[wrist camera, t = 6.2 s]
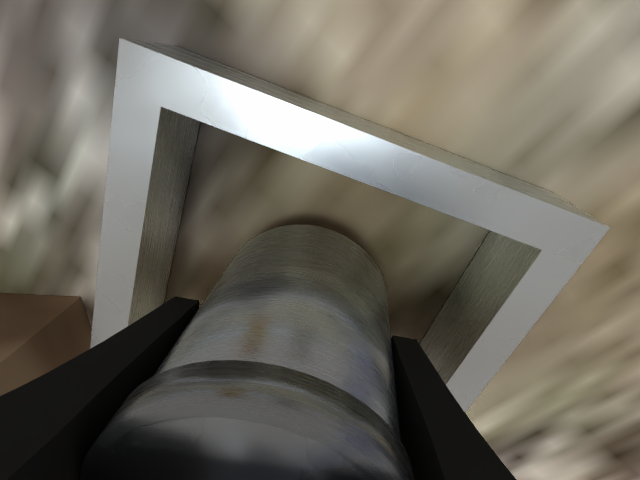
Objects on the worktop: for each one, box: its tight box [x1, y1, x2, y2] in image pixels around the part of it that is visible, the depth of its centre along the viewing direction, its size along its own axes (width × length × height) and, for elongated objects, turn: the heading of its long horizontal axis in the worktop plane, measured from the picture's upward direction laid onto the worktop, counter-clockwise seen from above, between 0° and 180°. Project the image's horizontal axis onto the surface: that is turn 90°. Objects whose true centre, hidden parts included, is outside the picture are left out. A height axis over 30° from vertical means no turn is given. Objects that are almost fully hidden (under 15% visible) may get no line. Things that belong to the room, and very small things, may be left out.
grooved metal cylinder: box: [80, 225, 414, 480], centre depth 8 cm, size 5×5×6 cm
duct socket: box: [90, 38, 610, 412], centre depth 11 cm, size 11×12×2 cm
